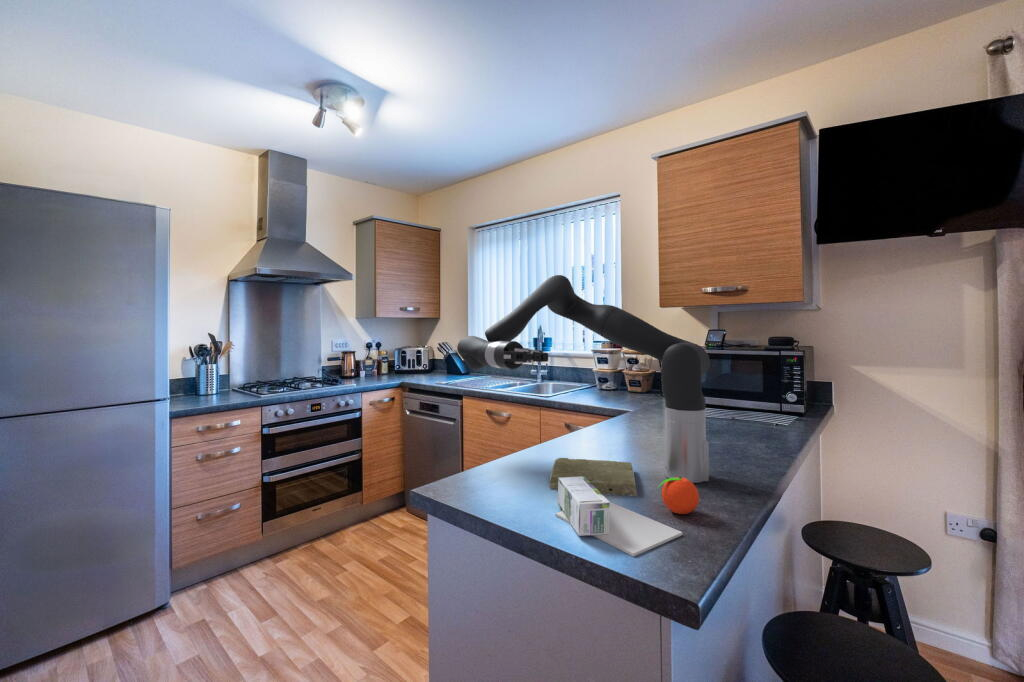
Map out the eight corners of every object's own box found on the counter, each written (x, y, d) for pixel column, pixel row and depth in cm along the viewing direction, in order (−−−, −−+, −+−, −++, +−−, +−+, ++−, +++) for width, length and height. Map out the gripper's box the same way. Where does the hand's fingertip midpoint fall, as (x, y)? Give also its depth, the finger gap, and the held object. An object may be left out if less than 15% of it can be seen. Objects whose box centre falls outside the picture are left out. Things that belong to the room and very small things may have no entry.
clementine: (663, 520, 81) (663, 483, 81) (651, 506, 88) (651, 471, 88) (705, 520, 82) (705, 482, 81) (690, 505, 88) (690, 471, 88)
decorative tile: (555, 468, 116) (555, 455, 116) (632, 472, 111) (632, 459, 111) (546, 493, 97) (546, 477, 97) (638, 499, 93) (638, 483, 93)
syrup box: (583, 503, 89) (611, 534, 75) (556, 504, 88) (579, 537, 74) (584, 475, 89) (611, 501, 75) (556, 477, 88) (579, 504, 74)
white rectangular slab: (555, 515, 84) (555, 513, 84) (602, 501, 91) (602, 498, 91) (633, 556, 68) (633, 553, 68) (682, 535, 75) (682, 532, 75)
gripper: (483, 341, 113) (524, 341, 99) (523, 340, 121) (566, 341, 107) (483, 369, 113) (524, 374, 99) (523, 367, 121) (566, 371, 107)
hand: (546, 357), depth 103 cm, fingers closed
